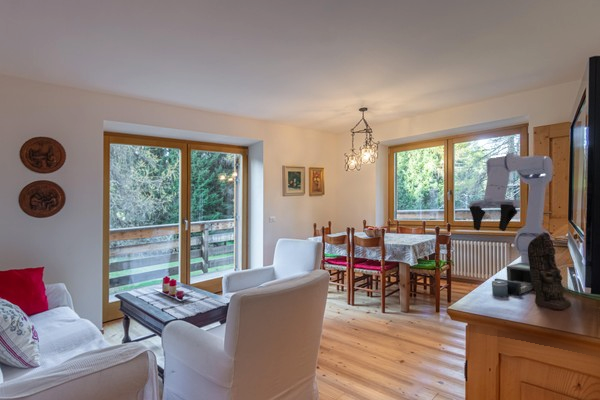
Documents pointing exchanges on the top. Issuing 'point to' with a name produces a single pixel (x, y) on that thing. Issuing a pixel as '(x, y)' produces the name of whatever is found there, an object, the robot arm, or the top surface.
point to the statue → (546, 273)
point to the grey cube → (499, 288)
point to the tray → (517, 286)
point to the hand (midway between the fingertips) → (488, 229)
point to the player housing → (519, 272)
